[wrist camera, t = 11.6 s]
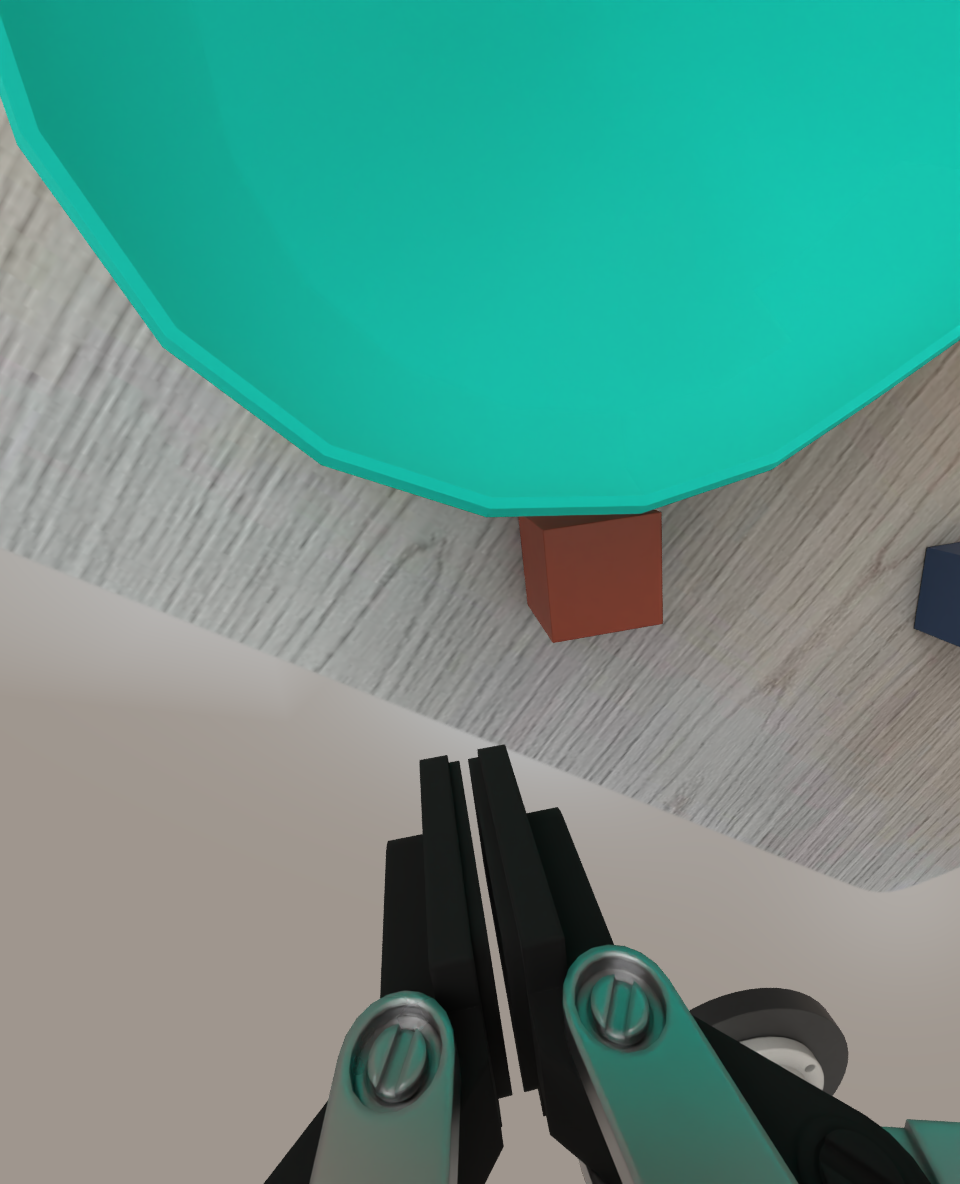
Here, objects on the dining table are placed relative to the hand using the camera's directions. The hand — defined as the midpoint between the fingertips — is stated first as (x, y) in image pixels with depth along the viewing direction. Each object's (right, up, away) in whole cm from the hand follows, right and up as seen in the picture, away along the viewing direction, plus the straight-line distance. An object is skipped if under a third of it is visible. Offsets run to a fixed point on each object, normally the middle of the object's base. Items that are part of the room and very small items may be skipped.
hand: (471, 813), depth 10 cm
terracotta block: (+5, +6, +16) cm, 18 cm away
